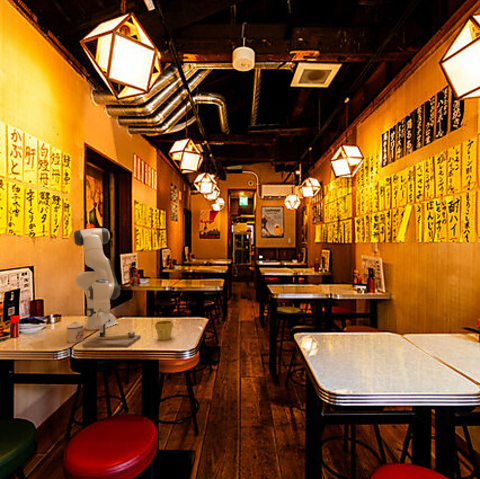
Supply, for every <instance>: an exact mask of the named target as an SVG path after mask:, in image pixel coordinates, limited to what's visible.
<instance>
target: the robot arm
mask: <svg viewBox="0 0 480 479" xmlns="http://www.w3.org/2000/svg"><path fill="white" fill-rule="evenodd" d="M110 238H111V235H110V231H109V229H107V228H104V227H101V228H96V227H94V228H93V227H91V228H85V229H78V230H75V231H74V232H73V235H72V240H73V242H74V244H75V245H76V246H77V247H83V257H84V263H85V265H86V266H87V267H89V268H91V269H93V271H84V272H83V271H81V272H79V273H77V275H76V276H75V280H74V281H75V285H76V286H77V287H79V288H80V289H81V290H82V291H83V292H84V294H85V297H86V304H87V305H86V306H87V307H86V315H87V316H86V325H85V326H84V329H85V330H90V331H92V330H93V331H94V330H100V331H99V334H100V333H102V332H103V325H104V324H105V329H108V328H110V326H111V327H114V326H116V325H115V324H117V325H119V324H118V323H119V322H118V321H116V317H115V315H114V314H112V313H111V312H110V311H111V305H112V304H111V300H116V299H117V298H118V297H119V296H120V294H121V289H120V285H119V283H118V280H117V277H116V275H115V271H114V268H113V265H112V262H111V259H109V258H107V257H106V255H105V253H104V249H103V245H106V244H107V243H108V242H109V241H110ZM113 325H114V326H113ZM107 327H108V328H107Z"/></svg>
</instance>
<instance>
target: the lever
mask: <svg viewBox="0 0 480 479" xmlns="http://www.w3.org/2000/svg"><path fill="white" fill-rule="evenodd" d="M98 330H99V329H98ZM135 332H136V331H129V332H127V333H122V334H119V333H118V334H109V335H107V334H106V328H105V324H104V325H103V332H102V333H100V330H99V336H100V340H106V339H119V338H133V337H135V335H136V333H135Z"/></svg>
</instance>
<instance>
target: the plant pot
mask: <svg viewBox="0 0 480 479" xmlns="http://www.w3.org/2000/svg"><path fill="white" fill-rule="evenodd" d="M154 327H155V328H154V329H155V330H156V333H157V337H158V340H159V341H166V340H167V341H168V340H170V339H171V335H172V331H173V330H172V329H173V328H174V322H173V320H170V319H169V320H168V319H165V320H158V321H156V322H155V323H154Z"/></svg>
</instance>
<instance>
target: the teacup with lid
mask: <svg viewBox="0 0 480 479" xmlns="http://www.w3.org/2000/svg"><path fill="white" fill-rule="evenodd" d="M72 322H73V323H70V324H69V325H67V326H66V330H67V331H66V334H67V335H66V336H67V337H66V338H67V343H68V344H75V343H80V342H83V341H84V327H85V326H84V324H83V323H80V322H78V321H77V320H75V321H72Z"/></svg>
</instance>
